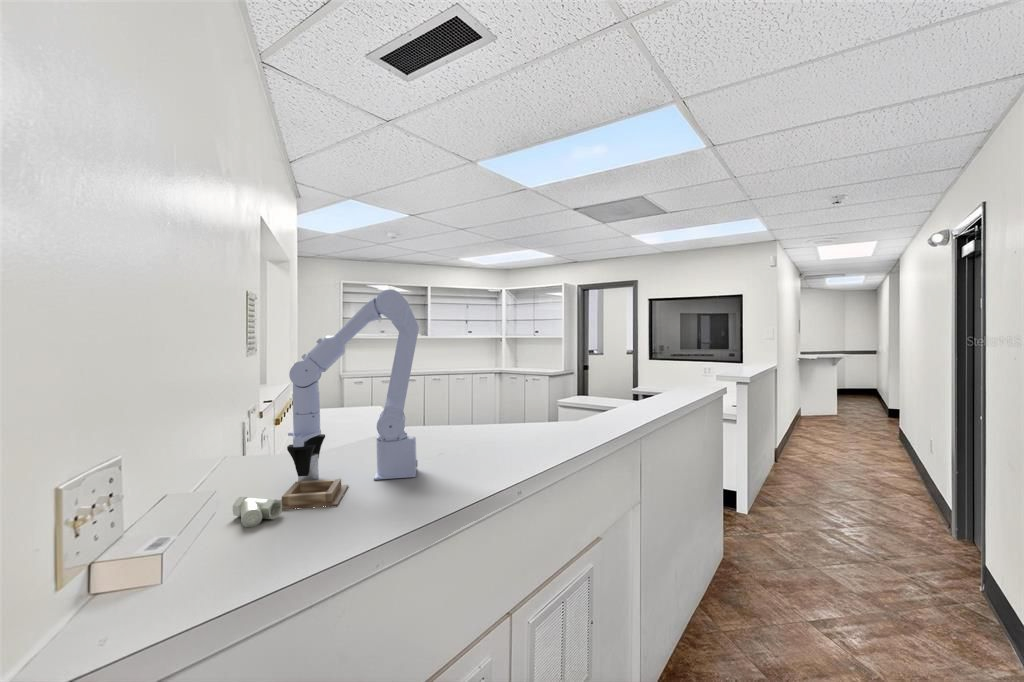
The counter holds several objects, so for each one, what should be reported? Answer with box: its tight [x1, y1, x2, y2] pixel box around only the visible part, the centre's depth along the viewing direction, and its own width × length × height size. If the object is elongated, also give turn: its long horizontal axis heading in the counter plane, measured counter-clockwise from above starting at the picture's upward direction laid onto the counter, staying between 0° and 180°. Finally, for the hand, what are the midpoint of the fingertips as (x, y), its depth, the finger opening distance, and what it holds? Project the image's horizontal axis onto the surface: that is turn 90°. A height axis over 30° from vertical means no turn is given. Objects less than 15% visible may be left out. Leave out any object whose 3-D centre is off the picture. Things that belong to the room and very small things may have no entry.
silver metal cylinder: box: [297, 453, 320, 482], centre depth 109 cm, size 4×4×6 cm
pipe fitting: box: [232, 496, 283, 528], centre depth 87 cm, size 8×4×7 cm
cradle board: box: [280, 478, 349, 511], centre depth 98 cm, size 12×12×3 cm
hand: (307, 470), depth 109 cm, fingers open, 7 cm apart
